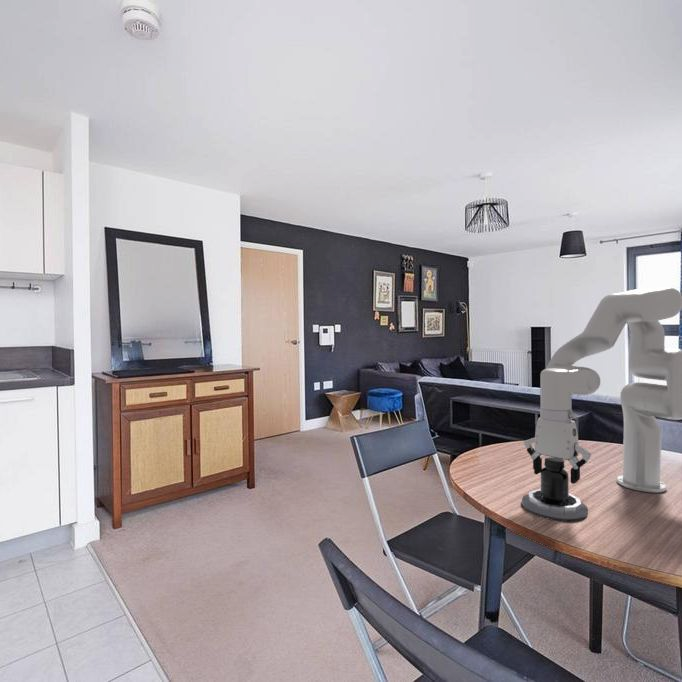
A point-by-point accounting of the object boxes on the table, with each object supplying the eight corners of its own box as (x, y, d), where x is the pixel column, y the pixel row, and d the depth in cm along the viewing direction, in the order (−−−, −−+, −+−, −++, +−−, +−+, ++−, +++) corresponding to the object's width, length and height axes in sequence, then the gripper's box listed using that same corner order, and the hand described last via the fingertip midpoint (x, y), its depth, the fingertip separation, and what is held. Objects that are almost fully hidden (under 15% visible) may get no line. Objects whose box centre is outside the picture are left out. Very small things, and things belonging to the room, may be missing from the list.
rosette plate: (538, 492, 130) (538, 482, 130) (597, 509, 118) (597, 499, 118) (510, 506, 120) (511, 496, 119) (572, 527, 107) (572, 516, 107)
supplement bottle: (559, 498, 122) (560, 455, 122) (573, 508, 115) (574, 463, 115) (535, 498, 122) (536, 456, 121) (548, 509, 115) (548, 463, 115)
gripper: (596, 417, 114) (595, 482, 114) (531, 408, 127) (531, 466, 128) (584, 422, 109) (584, 490, 109) (518, 412, 122) (518, 472, 123)
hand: (555, 477), depth 118 cm, fingers open, 9 cm apart
